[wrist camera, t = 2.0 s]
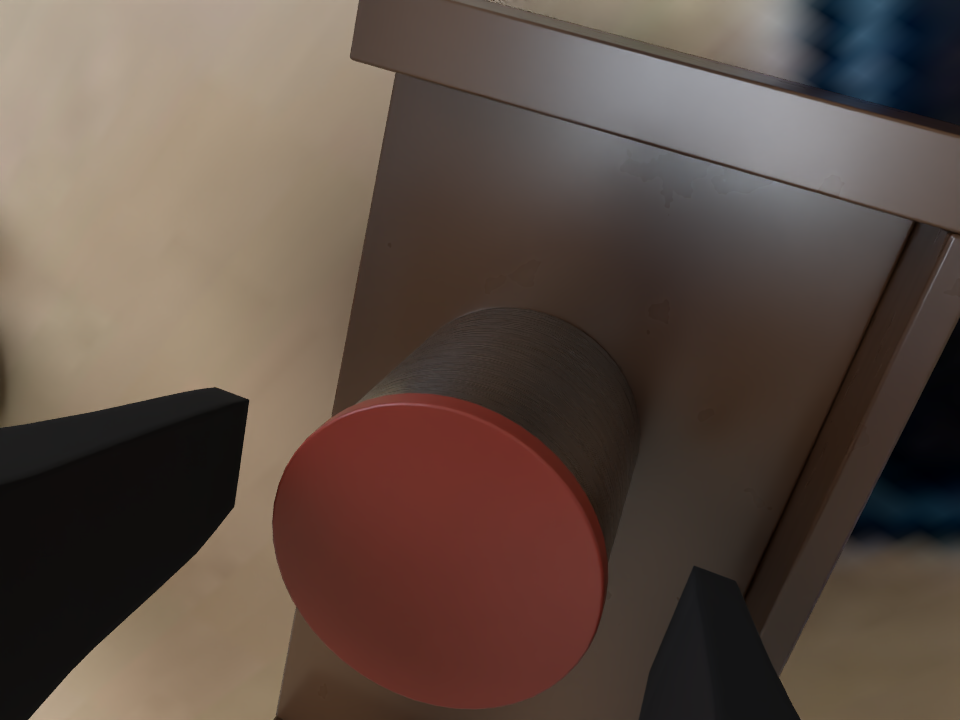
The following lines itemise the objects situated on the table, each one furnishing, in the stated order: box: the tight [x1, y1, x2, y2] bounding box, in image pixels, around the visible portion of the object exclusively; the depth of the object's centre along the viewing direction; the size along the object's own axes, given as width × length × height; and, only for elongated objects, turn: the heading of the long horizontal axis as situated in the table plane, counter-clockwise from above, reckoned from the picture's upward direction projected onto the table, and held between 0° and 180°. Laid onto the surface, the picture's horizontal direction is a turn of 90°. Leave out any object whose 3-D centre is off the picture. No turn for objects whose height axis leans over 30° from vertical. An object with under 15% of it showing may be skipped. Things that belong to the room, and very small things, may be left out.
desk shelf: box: [274, 0, 960, 720], centre depth 18 cm, size 10×18×5 cm, turn 166°
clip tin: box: [272, 308, 640, 709], centre depth 14 cm, size 5×5×5 cm
